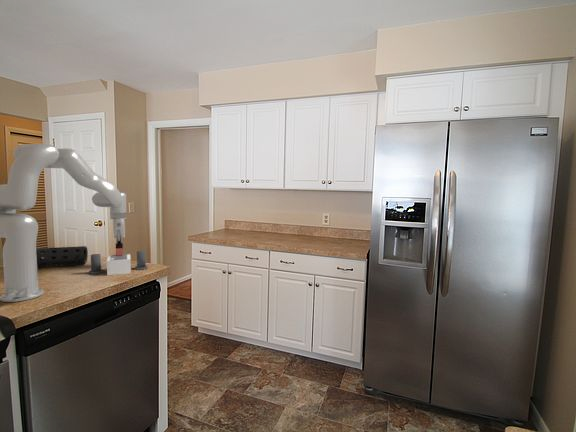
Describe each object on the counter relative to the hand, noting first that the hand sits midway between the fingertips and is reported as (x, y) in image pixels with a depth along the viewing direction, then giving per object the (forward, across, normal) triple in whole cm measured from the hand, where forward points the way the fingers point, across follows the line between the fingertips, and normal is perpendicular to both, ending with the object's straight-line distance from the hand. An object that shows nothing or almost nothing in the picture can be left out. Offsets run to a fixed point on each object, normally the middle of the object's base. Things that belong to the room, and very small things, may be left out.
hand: (119, 250), depth 161 cm
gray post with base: (+9, -8, +10) cm, 16 cm away
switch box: (+9, -9, 0) cm, 13 cm away
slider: (+1, -6, 0) cm, 6 cm away
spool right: (+9, -8, -10) cm, 16 cm away
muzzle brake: (+9, +14, +30) cm, 34 cm away
